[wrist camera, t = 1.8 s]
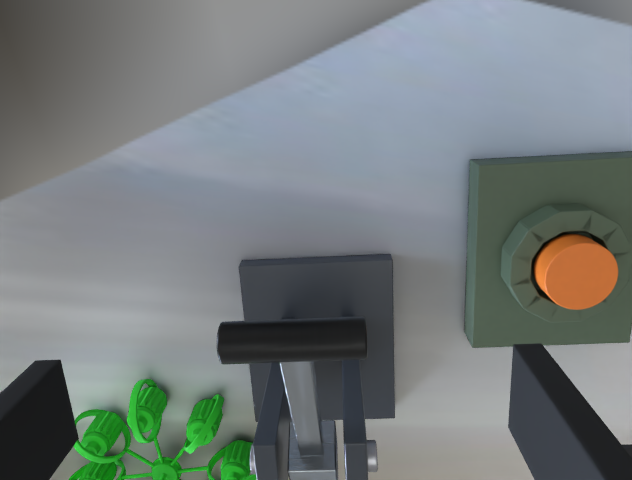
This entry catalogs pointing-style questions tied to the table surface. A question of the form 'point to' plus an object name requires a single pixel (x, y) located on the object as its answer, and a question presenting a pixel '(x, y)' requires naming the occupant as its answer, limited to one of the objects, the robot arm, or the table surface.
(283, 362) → the switch lever
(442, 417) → the table surface
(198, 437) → the chandelier
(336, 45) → the table surface
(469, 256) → the stop box
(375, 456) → the switch bracket
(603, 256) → the stop button
